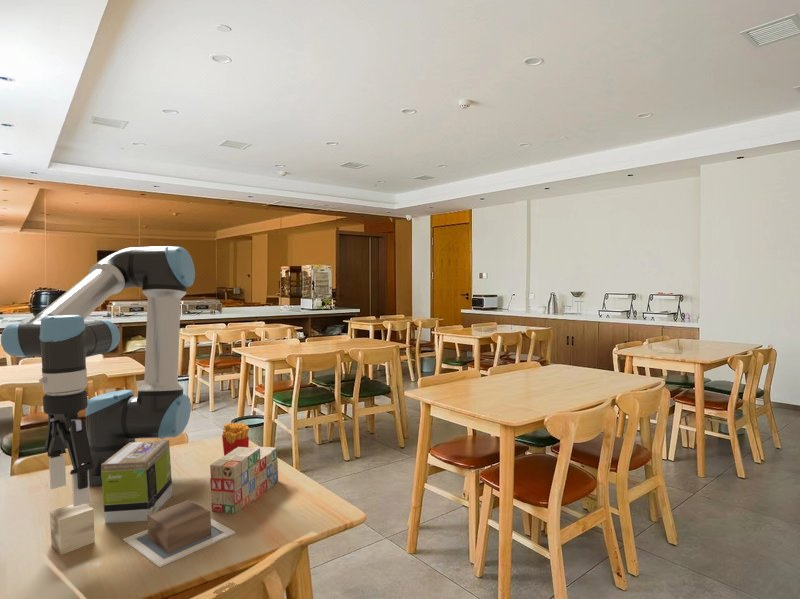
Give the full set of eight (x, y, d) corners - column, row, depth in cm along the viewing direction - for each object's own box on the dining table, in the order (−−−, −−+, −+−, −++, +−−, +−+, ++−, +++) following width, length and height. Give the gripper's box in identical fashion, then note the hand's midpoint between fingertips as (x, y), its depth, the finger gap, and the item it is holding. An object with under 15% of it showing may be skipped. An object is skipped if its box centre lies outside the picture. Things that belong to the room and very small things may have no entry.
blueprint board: (123, 544, 106) (123, 538, 106) (196, 515, 118) (196, 510, 118) (159, 572, 96) (159, 566, 96) (235, 537, 108) (235, 531, 108)
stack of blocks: (257, 479, 139) (256, 434, 138) (278, 481, 138) (277, 436, 137) (211, 516, 118) (209, 463, 118) (235, 518, 117) (233, 465, 116)
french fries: (220, 468, 147) (218, 424, 146) (231, 463, 151) (230, 420, 150) (242, 474, 142) (241, 428, 142) (254, 469, 146) (252, 424, 145)
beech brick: (51, 549, 105) (49, 511, 104) (84, 537, 109) (82, 501, 109) (61, 559, 101) (59, 520, 100) (95, 546, 105) (93, 509, 105)
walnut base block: (148, 538, 106) (147, 515, 106) (189, 521, 113) (188, 499, 113) (168, 553, 101) (167, 528, 100) (211, 534, 107) (210, 511, 107)
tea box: (132, 498, 128) (129, 440, 127) (173, 496, 129) (171, 438, 128) (103, 528, 113) (99, 462, 112) (150, 525, 114) (147, 460, 113)
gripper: (24, 387, 108) (28, 486, 109) (65, 403, 92) (70, 519, 93) (65, 381, 114) (68, 475, 115) (110, 396, 98) (114, 504, 99)
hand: (69, 495), depth 104 cm, fingers open, 13 cm apart
